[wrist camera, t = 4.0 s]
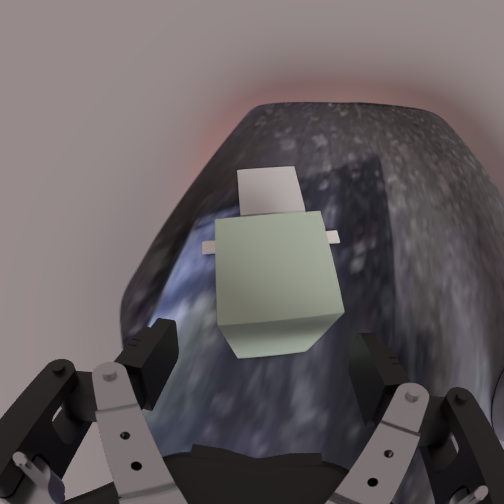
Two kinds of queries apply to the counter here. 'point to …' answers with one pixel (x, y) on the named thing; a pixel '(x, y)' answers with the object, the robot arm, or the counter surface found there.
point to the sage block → (274, 283)
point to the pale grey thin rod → (209, 246)
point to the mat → (269, 191)
